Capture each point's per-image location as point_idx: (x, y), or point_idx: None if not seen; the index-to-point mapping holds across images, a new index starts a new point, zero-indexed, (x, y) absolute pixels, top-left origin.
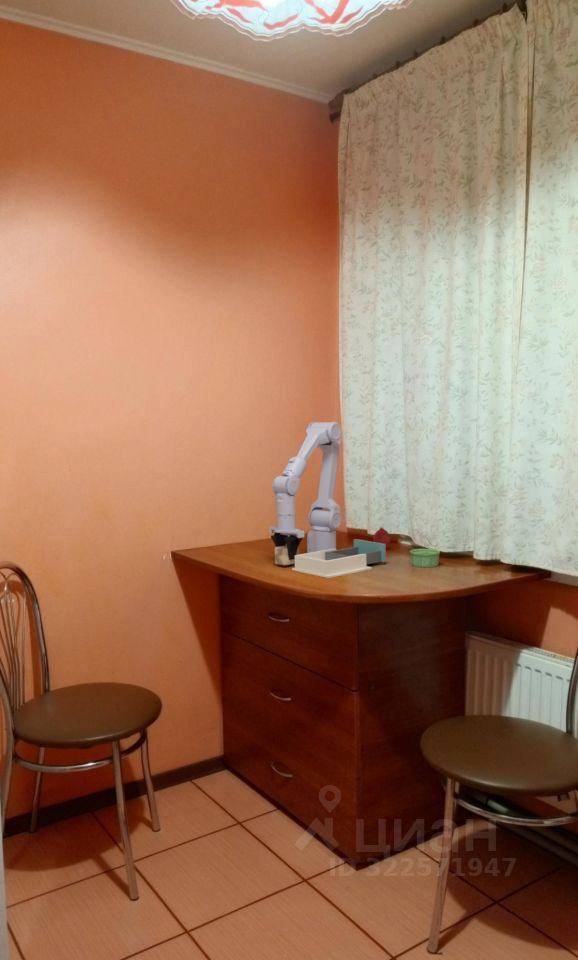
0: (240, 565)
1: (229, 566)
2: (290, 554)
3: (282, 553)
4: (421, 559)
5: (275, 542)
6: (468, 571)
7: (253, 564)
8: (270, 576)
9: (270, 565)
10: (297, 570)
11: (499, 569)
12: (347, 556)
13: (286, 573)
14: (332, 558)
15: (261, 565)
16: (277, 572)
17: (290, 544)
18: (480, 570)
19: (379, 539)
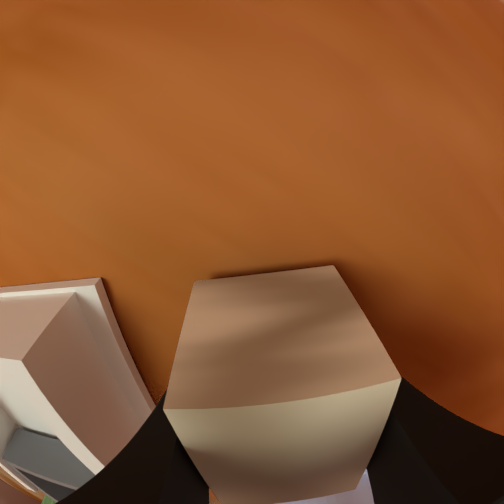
0: (499, 80)
1: (500, 21)
2: (164, 399)
3: (207, 356)
4: (44, 501)
5: (446, 442)
6: (13, 479)
7: (480, 164)
8: (18, 39)
9: (378, 241)
10: (50, 284)
11: (25, 493)
12: (9, 461)
13: (26, 179)
14: (82, 468)
15: (426, 184)
16: (82, 132)
17: (83, 485)
18: (20, 486)
19: None
